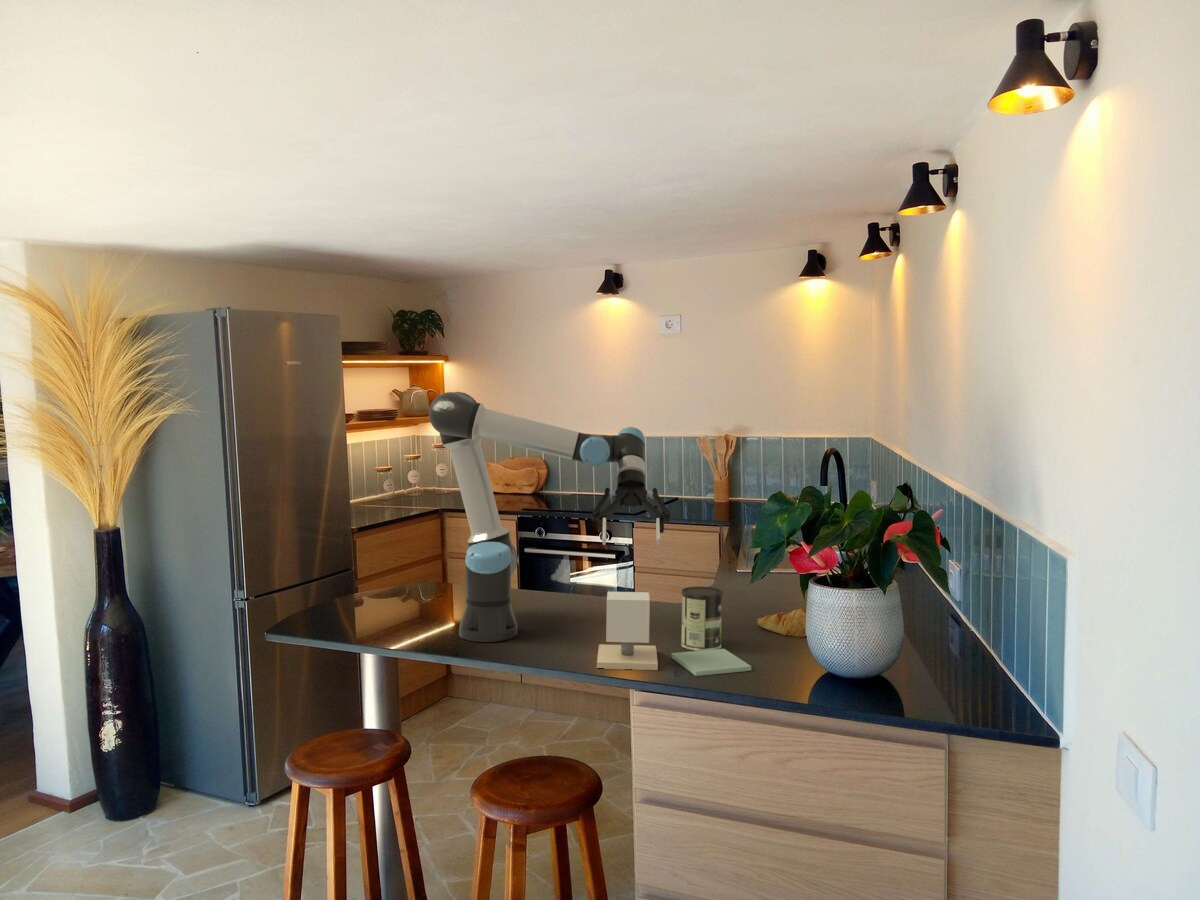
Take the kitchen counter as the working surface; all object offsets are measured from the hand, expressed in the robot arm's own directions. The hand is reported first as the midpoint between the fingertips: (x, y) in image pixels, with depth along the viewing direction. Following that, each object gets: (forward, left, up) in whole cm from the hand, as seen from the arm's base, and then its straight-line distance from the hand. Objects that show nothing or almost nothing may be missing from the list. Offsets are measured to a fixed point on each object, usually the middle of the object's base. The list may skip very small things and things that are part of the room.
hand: (631, 542), depth 208 cm
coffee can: (+17, -5, -27) cm, 32 cm away
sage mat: (+13, -19, -26) cm, 35 cm away
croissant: (+47, -1, -27) cm, 54 cm away
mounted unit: (-5, -11, -26) cm, 29 cm away
